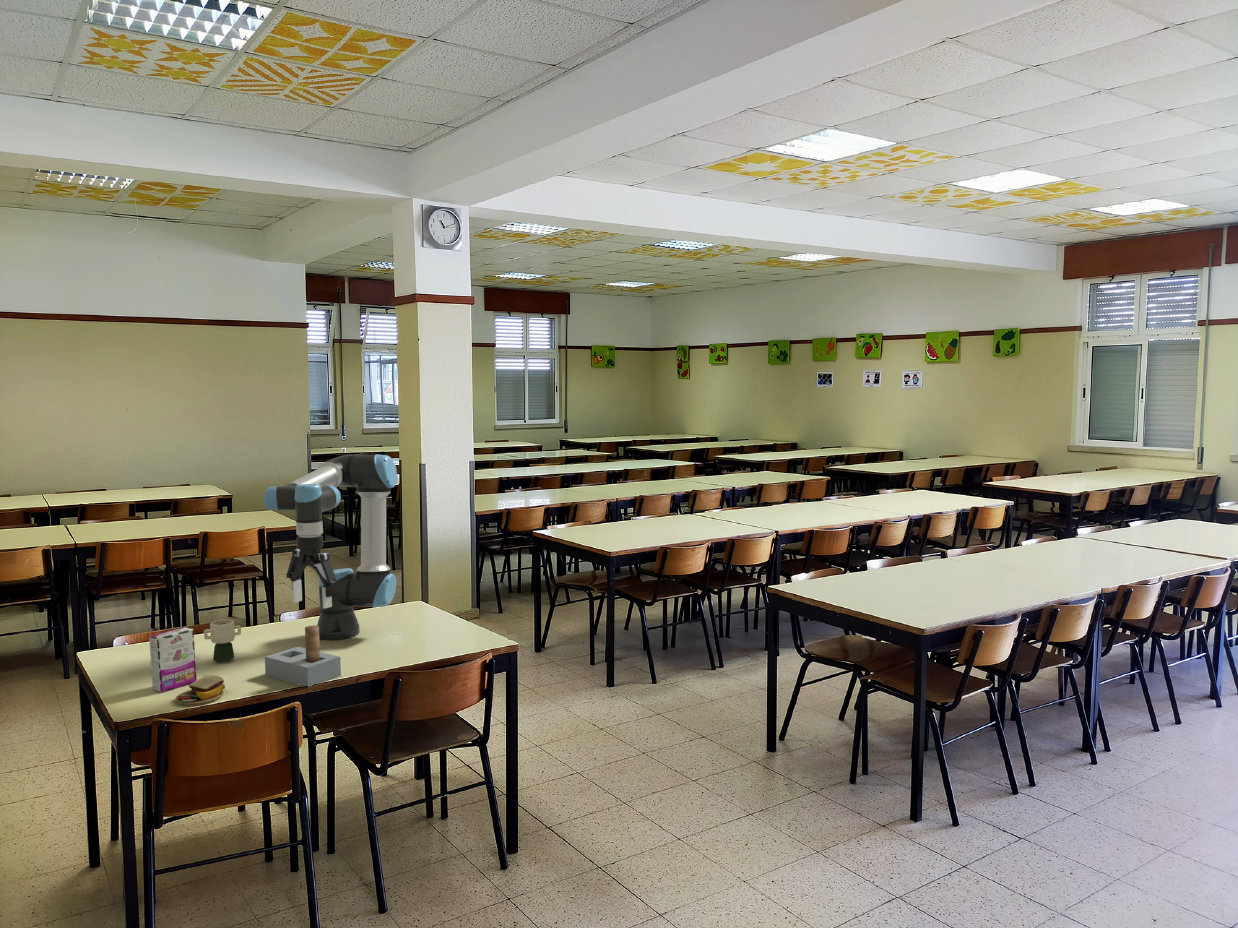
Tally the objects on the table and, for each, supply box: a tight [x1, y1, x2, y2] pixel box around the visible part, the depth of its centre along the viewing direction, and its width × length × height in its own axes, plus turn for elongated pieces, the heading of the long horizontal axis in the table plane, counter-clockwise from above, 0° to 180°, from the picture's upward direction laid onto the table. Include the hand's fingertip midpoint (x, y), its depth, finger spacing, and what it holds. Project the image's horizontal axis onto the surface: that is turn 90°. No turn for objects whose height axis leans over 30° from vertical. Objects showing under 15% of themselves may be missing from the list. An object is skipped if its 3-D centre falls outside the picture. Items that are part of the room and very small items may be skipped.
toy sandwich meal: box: [174, 674, 226, 706], centre depth 244 cm, size 12×14×5 cm
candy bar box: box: [148, 626, 198, 694], centre depth 253 cm, size 11×5×16 cm, turn 148°
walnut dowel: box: [304, 624, 321, 663], centre depth 260 cm, size 4×4×14 cm
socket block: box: [264, 646, 342, 688], centre depth 263 cm, size 20×12×6 cm, turn 58°
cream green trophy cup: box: [203, 618, 242, 663], centre depth 277 cm, size 11×7×13 cm, turn 122°
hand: (312, 604), depth 260 cm, fingers open, 13 cm apart
